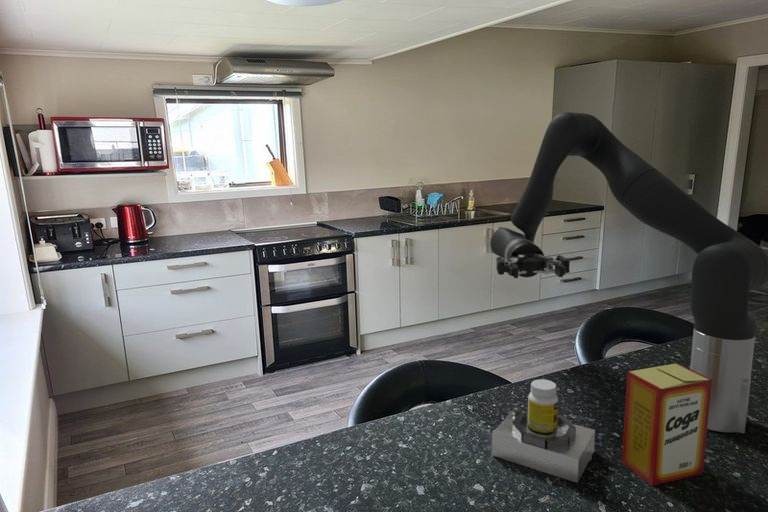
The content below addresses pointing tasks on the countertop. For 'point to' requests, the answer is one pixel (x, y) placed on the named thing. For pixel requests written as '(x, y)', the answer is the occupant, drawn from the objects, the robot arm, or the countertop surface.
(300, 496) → the countertop surface
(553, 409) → the supplement bottle
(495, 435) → the octagon ring base plate
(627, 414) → the baking soda box
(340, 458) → the countertop surface
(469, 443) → the countertop surface
